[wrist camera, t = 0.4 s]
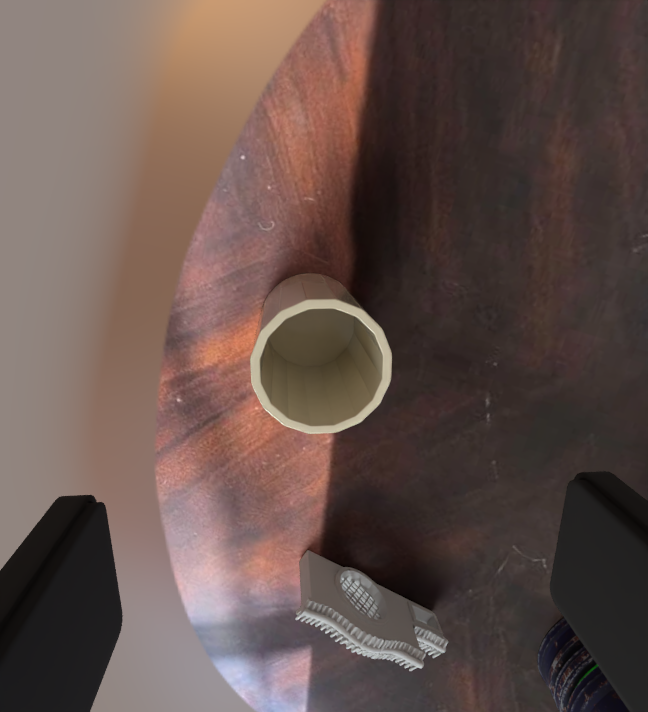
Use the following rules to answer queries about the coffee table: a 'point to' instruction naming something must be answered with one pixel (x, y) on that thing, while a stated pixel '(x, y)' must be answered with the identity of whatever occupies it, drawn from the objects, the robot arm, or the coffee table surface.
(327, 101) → the coffee table surface
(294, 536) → the coffee table surface
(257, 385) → the paper cup
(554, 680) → the navy cylinder
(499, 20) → the coffee table surface
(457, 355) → the coffee table surface
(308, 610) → the lattice window wall
